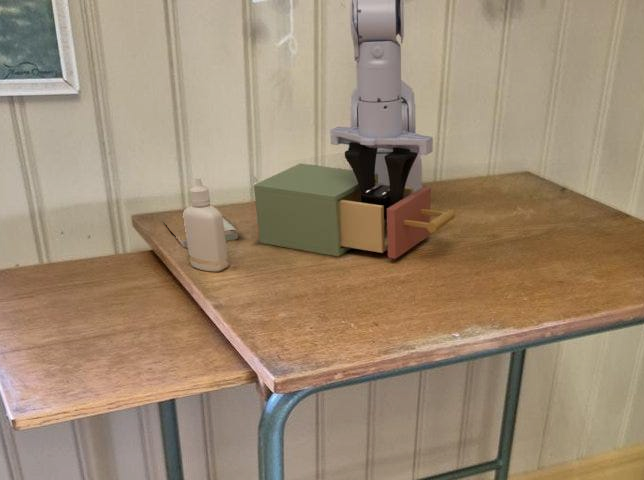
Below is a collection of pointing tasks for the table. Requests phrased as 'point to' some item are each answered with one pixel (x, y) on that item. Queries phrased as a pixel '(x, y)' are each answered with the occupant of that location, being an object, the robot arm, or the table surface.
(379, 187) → the clip
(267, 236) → the cabinet
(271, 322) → the table surface
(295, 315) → the table surface
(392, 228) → the drawer
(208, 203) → the eye dropper bottle
